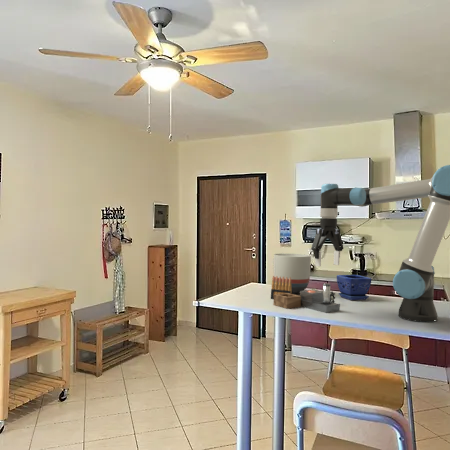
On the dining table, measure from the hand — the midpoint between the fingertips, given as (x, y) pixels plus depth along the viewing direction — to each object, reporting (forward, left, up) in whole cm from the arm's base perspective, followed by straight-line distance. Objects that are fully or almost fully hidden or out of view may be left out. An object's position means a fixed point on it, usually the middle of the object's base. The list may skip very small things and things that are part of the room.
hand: (327, 265), depth 184 cm
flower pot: (+12, -35, -21) cm, 43 cm away
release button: (+9, 0, -17) cm, 19 cm away
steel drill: (0, 0, -20) cm, 20 cm away
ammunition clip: (+28, +2, -21) cm, 35 cm away
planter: (+39, -16, -21) cm, 47 cm away
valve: (+12, -10, -21) cm, 26 cm away
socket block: (+5, 0, -20) cm, 21 cm away
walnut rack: (+16, +10, -20) cm, 27 cm away
